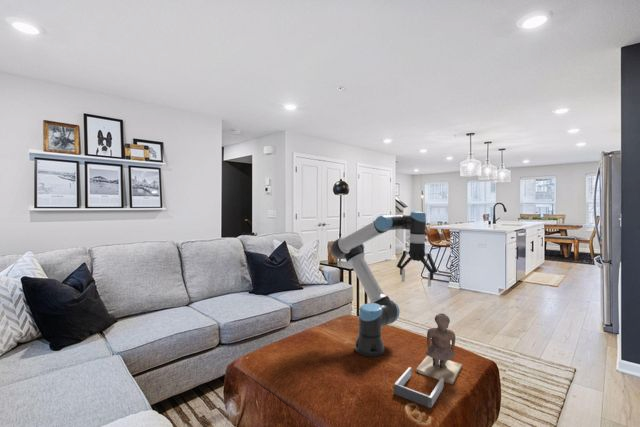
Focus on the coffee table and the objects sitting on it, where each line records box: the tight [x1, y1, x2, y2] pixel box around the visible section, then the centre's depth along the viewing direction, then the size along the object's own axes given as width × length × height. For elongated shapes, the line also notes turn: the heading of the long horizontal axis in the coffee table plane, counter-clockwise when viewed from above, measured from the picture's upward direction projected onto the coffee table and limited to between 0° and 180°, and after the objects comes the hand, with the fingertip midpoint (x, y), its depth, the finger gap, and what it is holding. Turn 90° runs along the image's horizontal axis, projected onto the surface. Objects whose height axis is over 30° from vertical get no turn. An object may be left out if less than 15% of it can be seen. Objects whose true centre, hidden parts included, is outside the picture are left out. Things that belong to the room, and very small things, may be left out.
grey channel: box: [393, 366, 445, 409], centre depth 132 cm, size 15×17×4 cm
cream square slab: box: [415, 355, 463, 385], centre depth 149 cm, size 16×18×2 cm
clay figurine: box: [425, 312, 456, 369], centre depth 149 cm, size 13×10×25 cm
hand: (415, 283), depth 162 cm, fingers open, 13 cm apart
